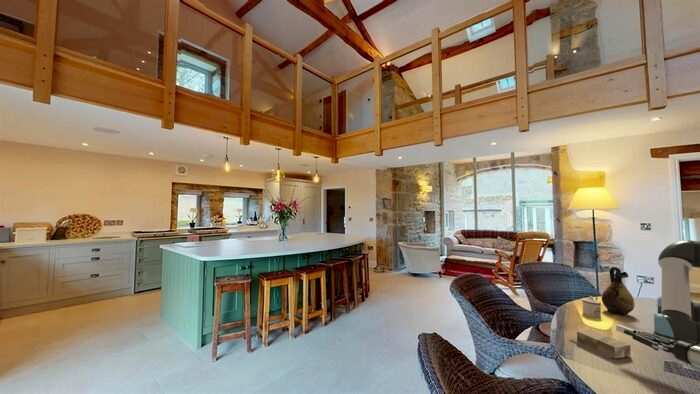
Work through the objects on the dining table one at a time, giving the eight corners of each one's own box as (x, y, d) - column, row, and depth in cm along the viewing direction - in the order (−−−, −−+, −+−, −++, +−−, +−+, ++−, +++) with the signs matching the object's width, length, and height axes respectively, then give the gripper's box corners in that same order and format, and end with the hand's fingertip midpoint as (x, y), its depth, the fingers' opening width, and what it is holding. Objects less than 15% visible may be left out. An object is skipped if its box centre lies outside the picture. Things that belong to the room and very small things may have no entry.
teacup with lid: (598, 318, 166) (597, 300, 166) (579, 313, 173) (579, 295, 174) (605, 315, 172) (604, 297, 172) (587, 310, 179) (586, 293, 180)
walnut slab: (630, 344, 123) (591, 329, 138) (615, 347, 120) (576, 331, 136) (630, 355, 123) (591, 339, 138) (615, 358, 120) (577, 341, 136)
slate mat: (630, 354, 124) (630, 353, 124) (608, 358, 121) (608, 357, 121) (589, 337, 141) (589, 336, 141) (569, 340, 137) (569, 339, 137)
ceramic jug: (642, 319, 166) (640, 271, 167) (613, 316, 169) (612, 269, 170) (620, 309, 183) (619, 265, 184) (594, 307, 186) (593, 264, 187)
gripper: (682, 367, 99) (607, 337, 122) (704, 362, 102) (627, 334, 125) (681, 347, 99) (607, 320, 122) (703, 343, 103) (626, 318, 125)
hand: (617, 327), depth 124 cm, fingers closed
